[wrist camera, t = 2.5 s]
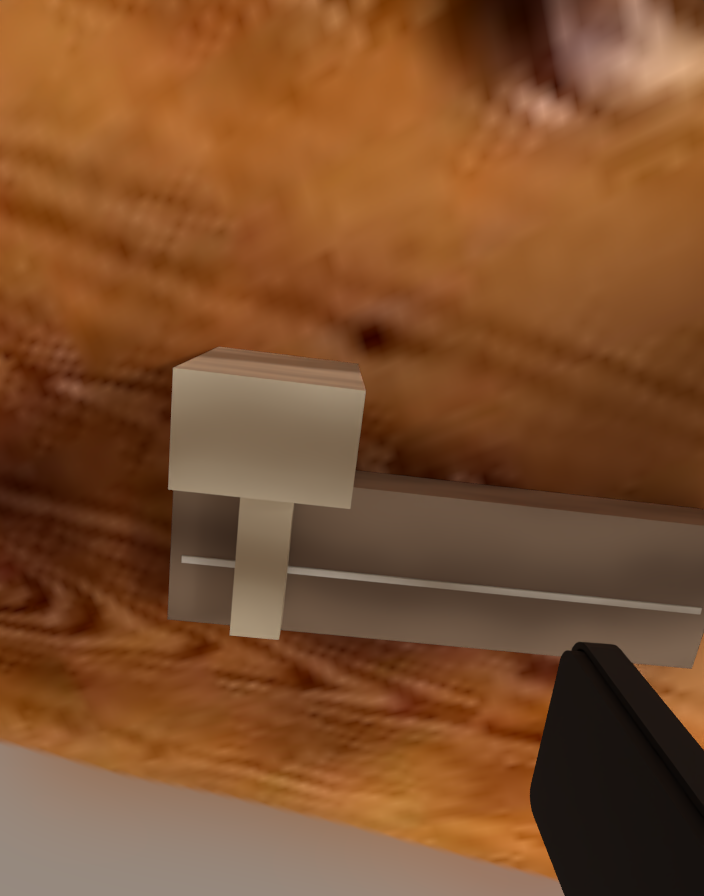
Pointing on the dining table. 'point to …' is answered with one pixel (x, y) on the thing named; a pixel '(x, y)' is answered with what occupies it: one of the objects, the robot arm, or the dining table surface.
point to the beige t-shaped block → (265, 456)
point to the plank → (465, 568)
